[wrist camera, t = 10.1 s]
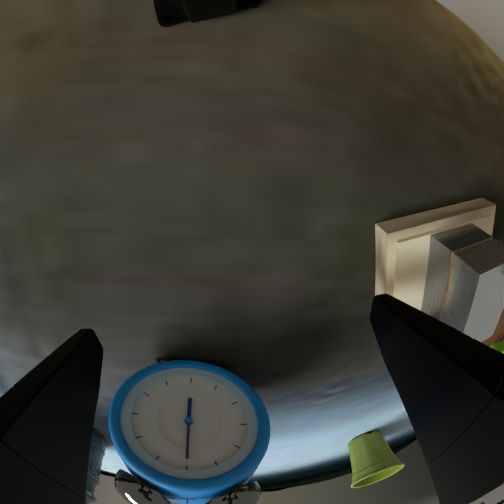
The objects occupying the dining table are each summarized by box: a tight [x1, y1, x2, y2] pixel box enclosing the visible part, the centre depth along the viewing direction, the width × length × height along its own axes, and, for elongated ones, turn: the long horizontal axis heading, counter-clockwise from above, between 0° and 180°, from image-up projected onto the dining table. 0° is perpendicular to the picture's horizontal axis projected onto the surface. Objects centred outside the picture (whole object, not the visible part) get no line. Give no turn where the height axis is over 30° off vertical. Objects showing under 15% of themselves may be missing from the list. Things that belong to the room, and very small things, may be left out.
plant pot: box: [348, 431, 404, 488], centre depth 35 cm, size 9×9×9 cm
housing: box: [421, 223, 504, 342], centre depth 18 cm, size 5×8×7 cm, turn 13°
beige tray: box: [375, 198, 496, 311], centre depth 22 cm, size 10×13×2 cm
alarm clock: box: [109, 359, 270, 504], centre depth 20 cm, size 13×6×15 cm, turn 81°
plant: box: [481, 308, 504, 353], centre depth 26 cm, size 20×20×11 cm
